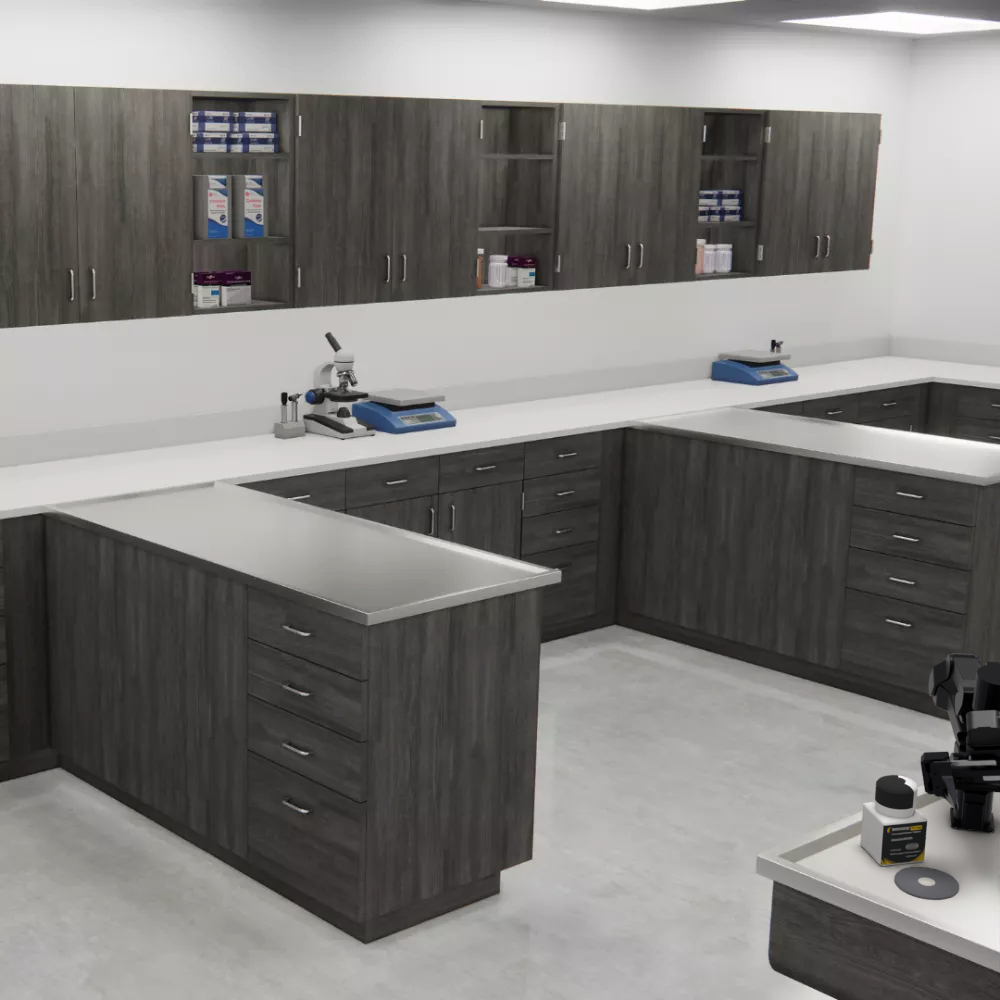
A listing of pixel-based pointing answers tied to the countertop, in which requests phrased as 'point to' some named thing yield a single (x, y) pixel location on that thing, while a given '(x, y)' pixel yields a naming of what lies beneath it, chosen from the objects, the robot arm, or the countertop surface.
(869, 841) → the medicine bottle
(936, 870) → the pad
